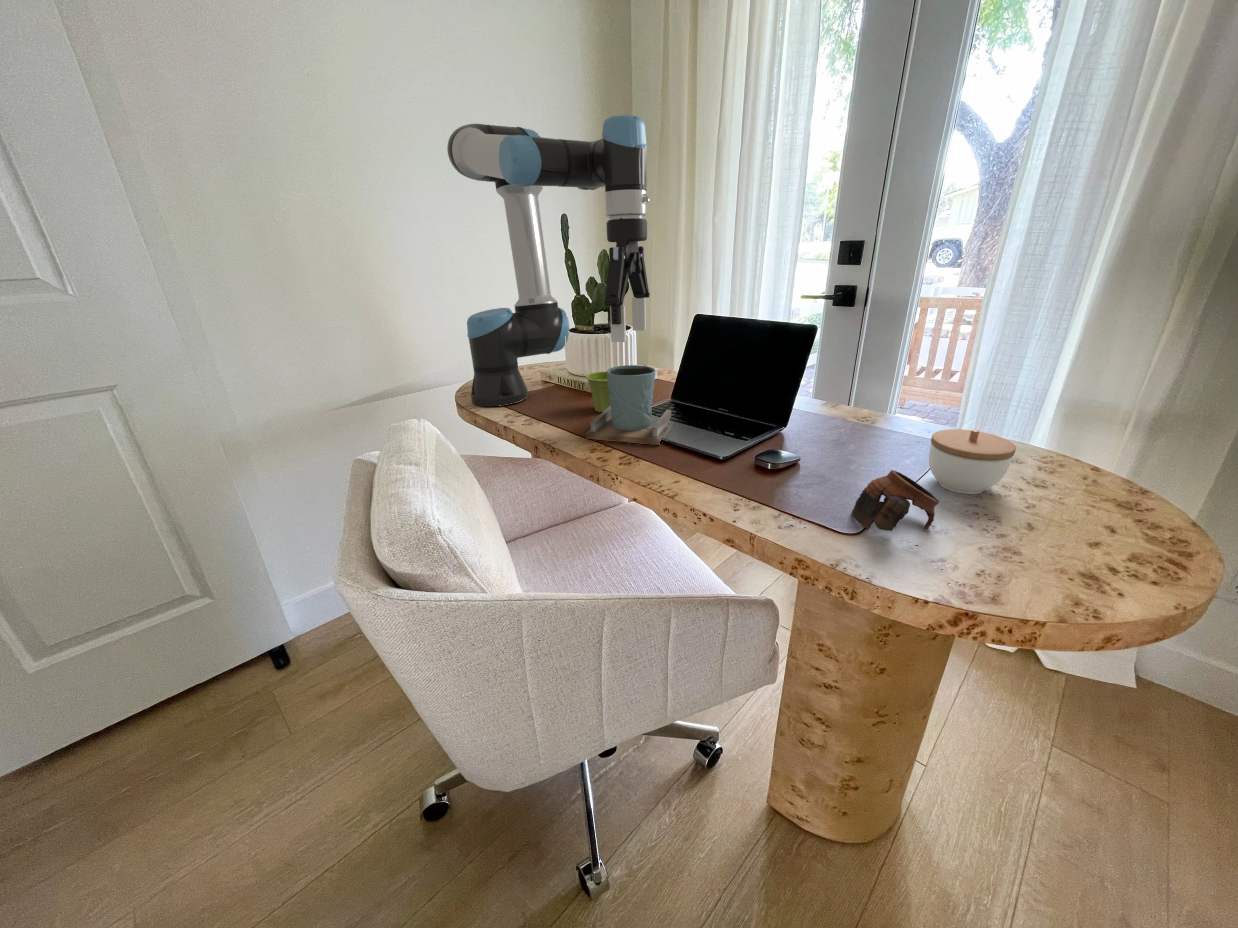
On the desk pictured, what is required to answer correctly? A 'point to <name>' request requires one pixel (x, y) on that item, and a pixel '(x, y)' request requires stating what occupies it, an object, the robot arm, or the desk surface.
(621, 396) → the blue ceramic cup
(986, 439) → the lidded jar
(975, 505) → the desk surface
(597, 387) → the plant pot
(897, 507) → the pottery mug
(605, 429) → the board
